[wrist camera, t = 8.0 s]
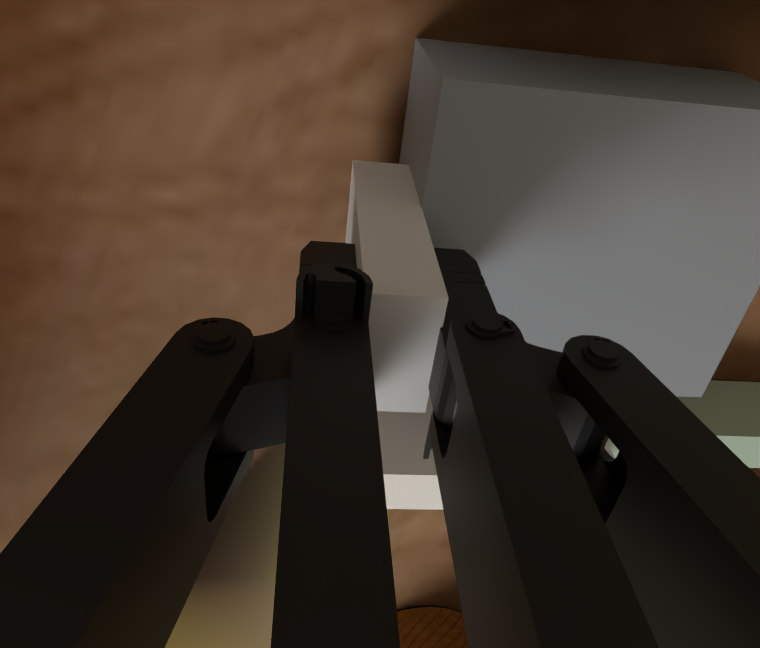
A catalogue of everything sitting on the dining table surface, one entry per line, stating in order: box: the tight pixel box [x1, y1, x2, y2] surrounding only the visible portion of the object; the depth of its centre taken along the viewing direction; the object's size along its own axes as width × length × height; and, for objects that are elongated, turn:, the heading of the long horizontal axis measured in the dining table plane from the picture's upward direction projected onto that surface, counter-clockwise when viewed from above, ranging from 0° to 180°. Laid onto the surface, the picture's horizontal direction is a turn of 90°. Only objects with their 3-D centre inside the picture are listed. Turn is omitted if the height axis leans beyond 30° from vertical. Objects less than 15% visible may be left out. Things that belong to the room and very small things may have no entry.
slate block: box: [399, 38, 760, 397], centre depth 17 cm, size 9×8×4 cm
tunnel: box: [377, 380, 760, 510], centre depth 17 cm, size 20×16×5 cm
